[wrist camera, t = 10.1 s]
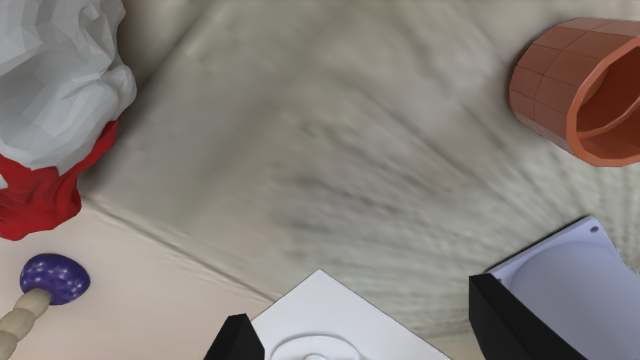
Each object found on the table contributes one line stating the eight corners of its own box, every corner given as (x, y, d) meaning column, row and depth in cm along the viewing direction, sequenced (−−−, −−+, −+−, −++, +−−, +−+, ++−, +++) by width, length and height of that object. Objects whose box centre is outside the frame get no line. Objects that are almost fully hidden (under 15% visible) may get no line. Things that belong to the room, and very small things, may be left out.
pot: (631, 78, 17) (738, 107, 13) (531, 145, 19) (595, 189, 15) (593, -12, 15) (706, -14, 11) (484, 73, 17) (543, 101, 13)
